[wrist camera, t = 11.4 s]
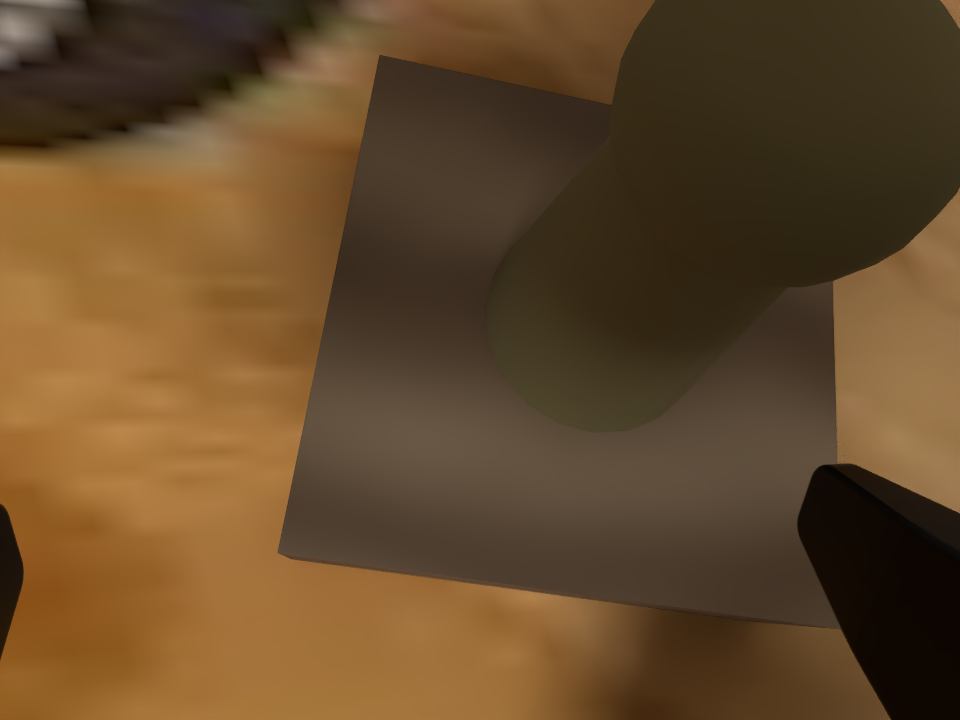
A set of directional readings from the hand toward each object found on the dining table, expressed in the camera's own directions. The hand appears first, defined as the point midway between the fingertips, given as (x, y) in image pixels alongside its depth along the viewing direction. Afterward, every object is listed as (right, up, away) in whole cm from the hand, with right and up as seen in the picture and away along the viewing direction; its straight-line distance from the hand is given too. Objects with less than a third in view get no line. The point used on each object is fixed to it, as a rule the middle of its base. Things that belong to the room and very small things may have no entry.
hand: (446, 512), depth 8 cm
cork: (+3, +3, +12) cm, 13 cm away
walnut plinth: (+3, +2, +15) cm, 16 cm away
